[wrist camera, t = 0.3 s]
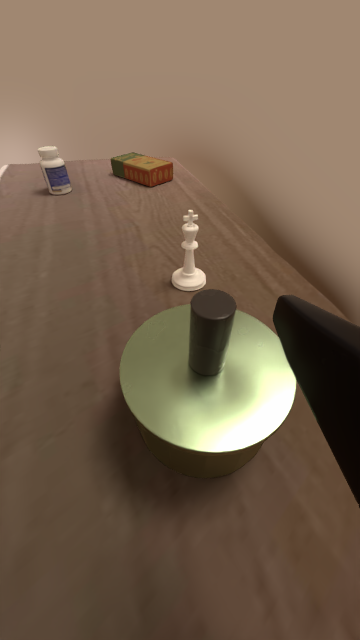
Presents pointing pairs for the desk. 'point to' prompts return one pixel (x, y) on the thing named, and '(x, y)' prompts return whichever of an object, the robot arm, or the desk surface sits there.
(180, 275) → the chess piece
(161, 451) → the tin
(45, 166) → the pill bottle
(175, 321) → the lid
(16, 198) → the desk surface
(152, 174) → the carton
